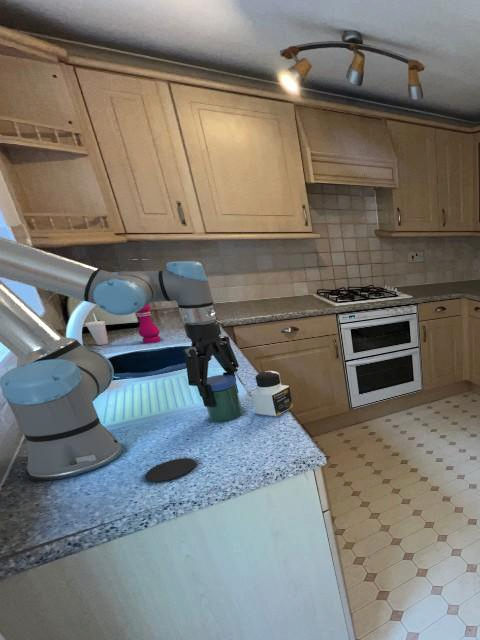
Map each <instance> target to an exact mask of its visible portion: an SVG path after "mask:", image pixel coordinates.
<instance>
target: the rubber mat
mask: <svg viewBox="0 0 480 640" xmlns="http://www.w3.org/2000/svg"><path fill="white" fill-rule="evenodd" d="M196 467H197V462H196V460H194V459H193V458H188V457H187V458H185V457H184V458H176V459H175V458H174V459H171V460H167V461H164V462H162V463H158V464H157V465H155V466H153V467H151V468H150V469H149V470H148V471H147V472H146V473H145V476H144V477H145V480H146V481H147V482H150V483H155V484H157V483H158V484H159V483H166V482H170V481H173V480H177V479H179V478H182V477H184V476H186V475H188V474H190V473H191V472H192V471H194V470H195V469H196Z"/></svg>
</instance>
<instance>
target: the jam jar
mask: <svg viewBox="0 0 480 640" xmlns="http://www.w3.org/2000/svg"><path fill="white" fill-rule="evenodd" d="M236 384H237V383H236ZM236 384H235V385H234V386H233V387H230V388H228V389H224V390H220V391H212V394H213V397H214V401H215V404H216V406H215V407H206V410H207V414H208V415H207V416H208V418H209V420H210V422H215V423H223V422H229V421H233V420H235V419H237V418H239V417H241V416H242V415H243V413H244V412H243V409H242V408H243V407H242V404H241V401H240V400H241V399H240V396H239V393H238V392H239V391H238V392H237V388H238V387H237V388H236Z"/></svg>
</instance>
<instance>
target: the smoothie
mask: <svg viewBox="0 0 480 640" xmlns="http://www.w3.org/2000/svg"><path fill="white" fill-rule="evenodd" d="M91 313H92V316H93V318H94V321H89V322H86V323H84V325H85V326H86V327H87V329H88V331H89V333H90V334H91V336H92V338H93V340H94V342H95V344H96V345H97V346H103V345H104V346H105V345H108V344H109V338H108V333H107V328H106V321H105V320H97V317H96V315H95V312H91Z"/></svg>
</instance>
